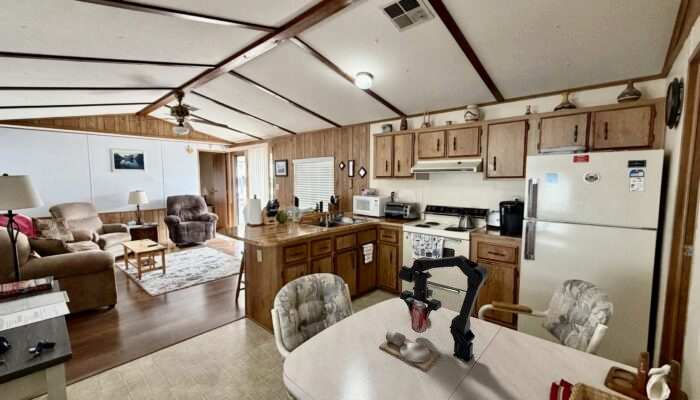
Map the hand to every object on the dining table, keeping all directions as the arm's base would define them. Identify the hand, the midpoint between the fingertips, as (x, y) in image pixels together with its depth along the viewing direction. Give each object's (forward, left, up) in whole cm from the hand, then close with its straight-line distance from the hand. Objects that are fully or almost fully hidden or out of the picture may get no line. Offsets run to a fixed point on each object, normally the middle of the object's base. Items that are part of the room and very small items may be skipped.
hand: (419, 317), depth 137 cm
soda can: (0, 0, -6) cm, 6 cm away
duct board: (-3, +13, -9) cm, 17 cm away
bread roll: (+10, -16, -10) cm, 21 cm away
